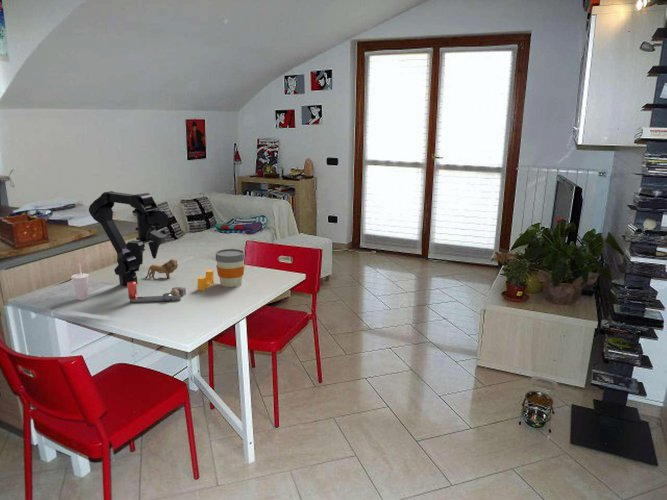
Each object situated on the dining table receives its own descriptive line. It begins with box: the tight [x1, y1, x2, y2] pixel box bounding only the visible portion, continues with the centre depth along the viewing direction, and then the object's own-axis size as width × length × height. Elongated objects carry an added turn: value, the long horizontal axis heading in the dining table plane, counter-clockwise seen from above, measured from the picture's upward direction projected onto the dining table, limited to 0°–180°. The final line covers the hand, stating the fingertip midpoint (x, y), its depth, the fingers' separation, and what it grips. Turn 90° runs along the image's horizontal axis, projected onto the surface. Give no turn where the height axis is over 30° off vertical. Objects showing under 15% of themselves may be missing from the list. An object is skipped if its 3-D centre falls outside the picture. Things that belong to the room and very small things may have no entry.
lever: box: [126, 281, 182, 304], centre depth 196 cm, size 19×4×8 cm, turn 101°
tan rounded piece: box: [169, 289, 179, 295], centre depth 201 cm, size 4×4×4 cm
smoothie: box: [70, 264, 90, 301], centre depth 199 cm, size 6×6×14 cm
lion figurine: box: [143, 258, 179, 281], centre depth 225 cm, size 15×5×9 cm, turn 104°
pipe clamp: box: [197, 269, 215, 292], centre depth 215 cm, size 12×4×6 cm, turn 174°
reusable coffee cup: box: [215, 248, 246, 288], centre depth 218 cm, size 13×13×15 cm
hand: (147, 261), depth 207 cm, fingers open, 9 cm apart
